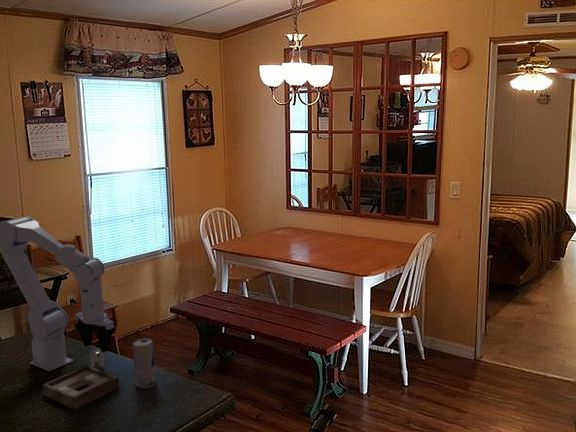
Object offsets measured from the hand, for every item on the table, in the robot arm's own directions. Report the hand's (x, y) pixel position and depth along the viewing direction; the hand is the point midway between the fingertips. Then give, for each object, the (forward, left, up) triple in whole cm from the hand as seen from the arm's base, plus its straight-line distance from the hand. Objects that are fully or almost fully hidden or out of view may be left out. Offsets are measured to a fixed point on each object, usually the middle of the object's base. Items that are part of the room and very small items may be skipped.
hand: (96, 348), depth 161 cm
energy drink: (+19, +1, -6) cm, 20 cm away
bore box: (+8, -11, -6) cm, 15 cm away
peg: (0, 0, -6) cm, 6 cm away
